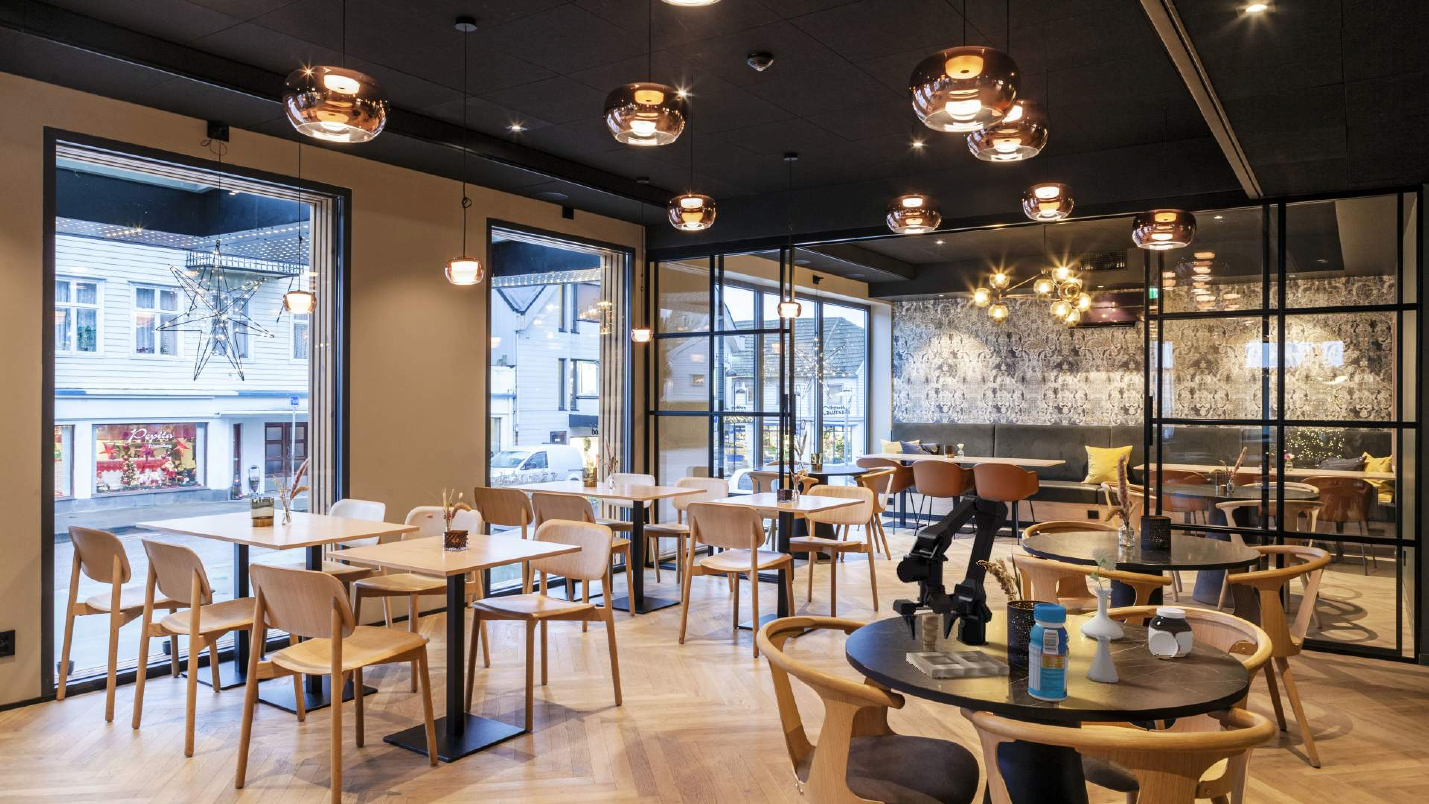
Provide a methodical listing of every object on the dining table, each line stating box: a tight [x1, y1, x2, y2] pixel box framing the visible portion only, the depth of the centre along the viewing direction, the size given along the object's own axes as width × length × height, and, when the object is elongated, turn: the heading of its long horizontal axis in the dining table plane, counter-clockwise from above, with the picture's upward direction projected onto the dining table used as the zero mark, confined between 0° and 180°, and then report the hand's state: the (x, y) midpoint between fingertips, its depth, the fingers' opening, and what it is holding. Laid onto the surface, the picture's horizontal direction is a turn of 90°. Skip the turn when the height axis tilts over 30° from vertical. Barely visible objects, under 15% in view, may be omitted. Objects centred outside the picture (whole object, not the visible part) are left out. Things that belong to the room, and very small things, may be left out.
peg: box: [921, 614, 939, 653], centre depth 241 cm, size 4×4×9 cm
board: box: [906, 650, 1010, 679], centre depth 226 cm, size 20×14×2 cm
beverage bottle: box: [1027, 602, 1070, 702], centre depth 206 cm, size 8×8×20 cm
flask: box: [1086, 636, 1120, 684], centre depth 220 cm, size 7×7×10 cm
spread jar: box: [1147, 606, 1194, 657], centre depth 243 cm, size 12×11×12 cm
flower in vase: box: [1079, 546, 1125, 640], centre depth 261 cm, size 13×11×25 cm
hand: (929, 639), depth 241 cm, fingers open, 9 cm apart
